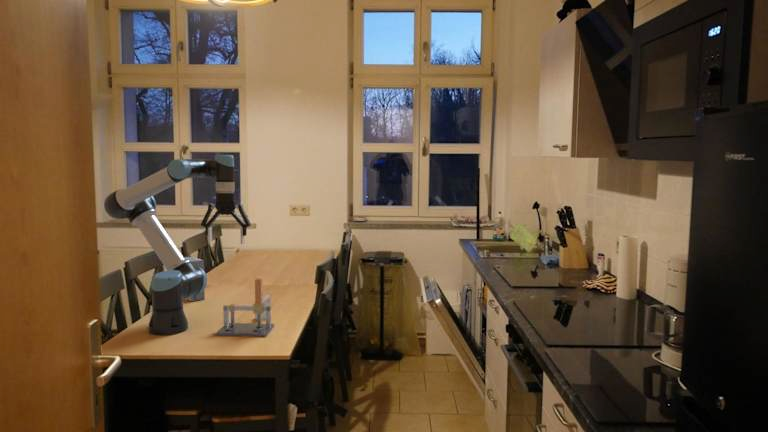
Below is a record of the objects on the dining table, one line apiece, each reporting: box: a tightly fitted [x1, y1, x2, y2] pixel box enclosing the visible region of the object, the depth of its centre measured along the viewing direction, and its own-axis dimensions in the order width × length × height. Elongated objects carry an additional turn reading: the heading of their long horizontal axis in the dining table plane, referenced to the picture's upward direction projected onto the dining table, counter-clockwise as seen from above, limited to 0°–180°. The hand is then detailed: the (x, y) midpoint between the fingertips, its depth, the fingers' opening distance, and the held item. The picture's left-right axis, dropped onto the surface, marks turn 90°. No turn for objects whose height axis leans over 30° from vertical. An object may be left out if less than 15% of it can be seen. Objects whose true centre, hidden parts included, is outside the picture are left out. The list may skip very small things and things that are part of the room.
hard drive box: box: [183, 256, 206, 302], centre depth 273 cm, size 16×8×20 cm, turn 47°
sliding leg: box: [252, 278, 265, 326], centre depth 223 cm, size 4×4×20 cm
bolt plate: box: [215, 322, 275, 338], centre depth 222 cm, size 20×13×1 cm, turn 88°
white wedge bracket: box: [254, 294, 272, 321], centre depth 241 cm, size 4×10×9 cm
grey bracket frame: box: [223, 303, 272, 328], centre depth 224 cm, size 19×2×9 cm, turn 88°
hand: (226, 243), depth 227 cm, fingers open, 13 cm apart
